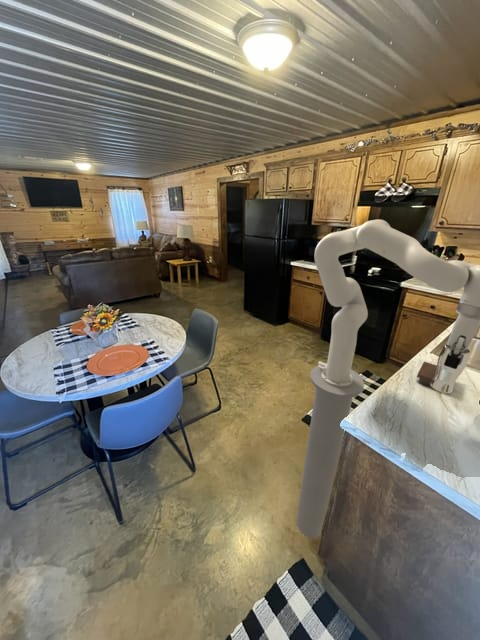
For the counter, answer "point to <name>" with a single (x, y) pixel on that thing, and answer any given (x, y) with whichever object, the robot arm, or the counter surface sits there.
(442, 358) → the beer glass
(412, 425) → the counter surface
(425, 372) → the lidded box
